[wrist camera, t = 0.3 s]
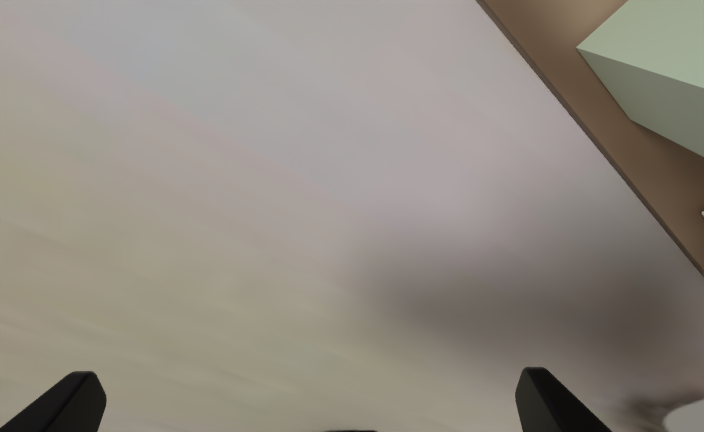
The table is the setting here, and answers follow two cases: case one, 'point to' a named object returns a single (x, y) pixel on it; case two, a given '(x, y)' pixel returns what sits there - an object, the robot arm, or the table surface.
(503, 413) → the table surface
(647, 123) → the pale green block
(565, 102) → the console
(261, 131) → the table surface
